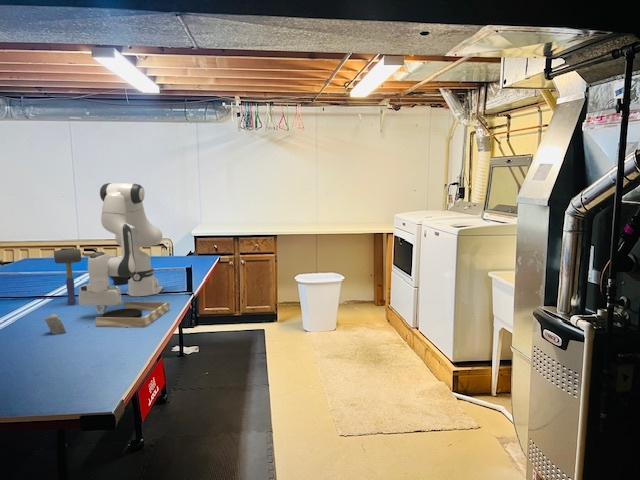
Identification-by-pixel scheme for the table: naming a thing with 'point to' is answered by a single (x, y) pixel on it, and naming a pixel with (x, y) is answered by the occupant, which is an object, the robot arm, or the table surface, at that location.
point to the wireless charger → (124, 313)
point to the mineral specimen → (55, 324)
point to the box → (135, 322)
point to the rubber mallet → (68, 268)
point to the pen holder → (120, 280)
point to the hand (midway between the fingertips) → (101, 313)
